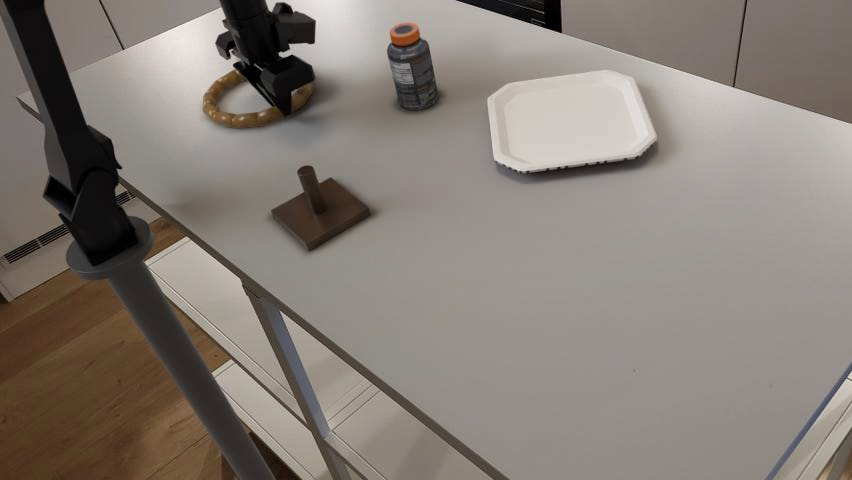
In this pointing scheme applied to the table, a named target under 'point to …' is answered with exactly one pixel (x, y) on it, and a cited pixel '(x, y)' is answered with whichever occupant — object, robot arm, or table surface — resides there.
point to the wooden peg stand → (319, 210)
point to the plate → (569, 121)
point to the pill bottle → (411, 67)
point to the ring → (247, 118)
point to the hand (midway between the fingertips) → (281, 110)
